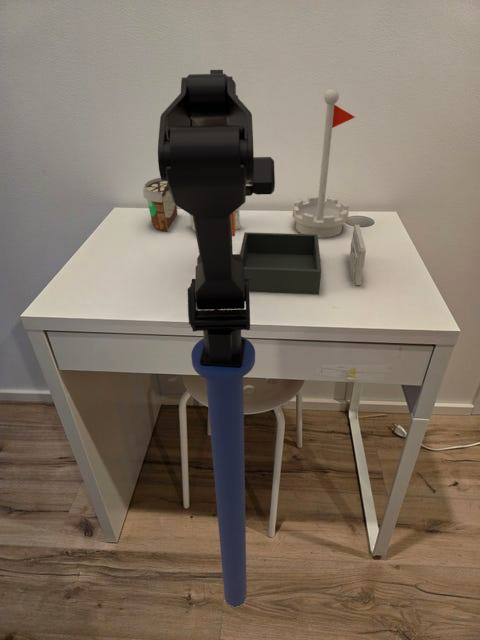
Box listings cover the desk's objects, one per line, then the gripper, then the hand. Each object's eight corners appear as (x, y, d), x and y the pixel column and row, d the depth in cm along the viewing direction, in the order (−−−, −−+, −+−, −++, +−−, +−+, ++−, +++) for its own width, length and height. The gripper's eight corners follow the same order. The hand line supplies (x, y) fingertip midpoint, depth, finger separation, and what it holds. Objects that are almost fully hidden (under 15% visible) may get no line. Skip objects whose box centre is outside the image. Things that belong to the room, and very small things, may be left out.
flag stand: (287, 236, 101) (295, 93, 84) (295, 214, 112) (303, 83, 94) (344, 242, 99) (365, 95, 81) (347, 219, 109) (365, 84, 91)
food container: (156, 213, 114) (151, 174, 108) (179, 214, 113) (175, 175, 107) (141, 233, 104) (134, 192, 98) (166, 234, 103) (160, 193, 98)
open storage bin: (318, 294, 82) (321, 271, 79) (237, 291, 83) (236, 268, 80) (315, 255, 94) (317, 234, 91) (244, 253, 95) (244, 232, 92)
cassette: (347, 256, 93) (351, 222, 89) (355, 256, 93) (361, 223, 89) (352, 286, 84) (358, 250, 79) (362, 286, 84) (369, 250, 79)
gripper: (275, 108, 71) (269, 157, 87) (161, 110, 71) (175, 159, 87) (278, 171, 70) (271, 210, 85) (161, 173, 70) (175, 212, 85)
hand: (223, 196), depth 85 cm, fingers closed on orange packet, 4 cm apart
